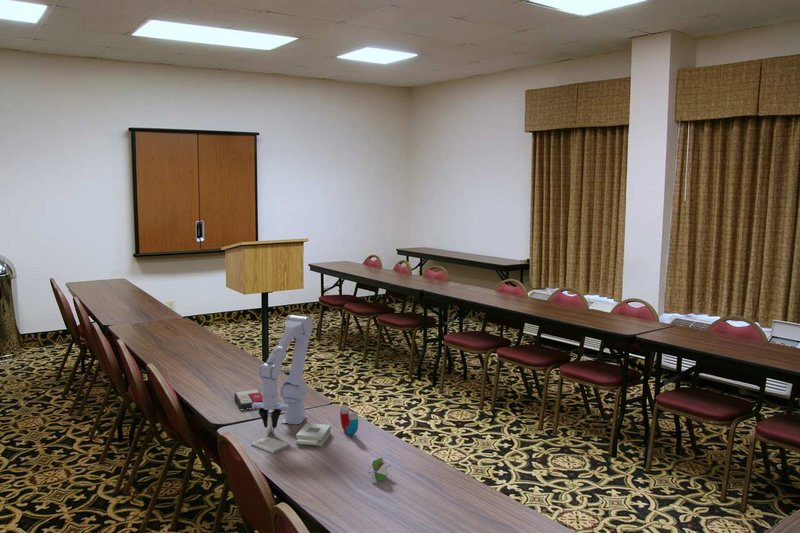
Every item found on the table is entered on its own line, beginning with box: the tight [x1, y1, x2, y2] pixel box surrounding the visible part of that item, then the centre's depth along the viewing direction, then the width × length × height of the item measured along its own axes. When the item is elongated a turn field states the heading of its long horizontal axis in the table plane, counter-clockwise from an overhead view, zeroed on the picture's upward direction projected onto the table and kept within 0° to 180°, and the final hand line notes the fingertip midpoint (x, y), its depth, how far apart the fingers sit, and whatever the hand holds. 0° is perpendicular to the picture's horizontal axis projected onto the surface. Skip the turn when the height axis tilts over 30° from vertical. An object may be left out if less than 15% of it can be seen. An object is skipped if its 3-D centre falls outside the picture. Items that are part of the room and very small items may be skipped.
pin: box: [266, 410, 276, 436], centre depth 245 cm, size 3×3×9 cm
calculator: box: [234, 389, 263, 410], centre depth 280 cm, size 11×4×15 cm
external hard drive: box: [250, 436, 291, 454], centre depth 235 cm, size 2×8×12 cm
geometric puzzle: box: [368, 457, 392, 482], centre depth 209 cm, size 7×7×8 cm
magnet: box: [339, 404, 359, 436], centre depth 247 cm, size 12×3×10 cm, turn 29°
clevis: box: [295, 422, 332, 447], centre depth 241 cm, size 14×10×4 cm
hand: (270, 427), depth 246 cm, fingers closed on pin, 3 cm apart
